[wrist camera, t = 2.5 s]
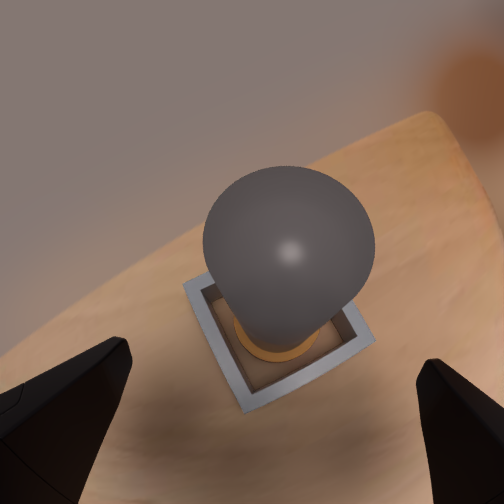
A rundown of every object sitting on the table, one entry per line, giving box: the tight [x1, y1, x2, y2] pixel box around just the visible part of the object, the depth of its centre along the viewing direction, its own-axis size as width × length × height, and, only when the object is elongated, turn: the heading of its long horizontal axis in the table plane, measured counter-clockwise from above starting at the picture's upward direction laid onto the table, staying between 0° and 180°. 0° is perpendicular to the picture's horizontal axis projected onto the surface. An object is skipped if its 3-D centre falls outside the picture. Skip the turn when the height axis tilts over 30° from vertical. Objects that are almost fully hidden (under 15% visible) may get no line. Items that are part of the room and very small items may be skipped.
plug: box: [203, 166, 375, 363], centre depth 12 cm, size 5×5×12 cm
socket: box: [183, 271, 376, 414], centre depth 16 cm, size 8×8×3 cm
